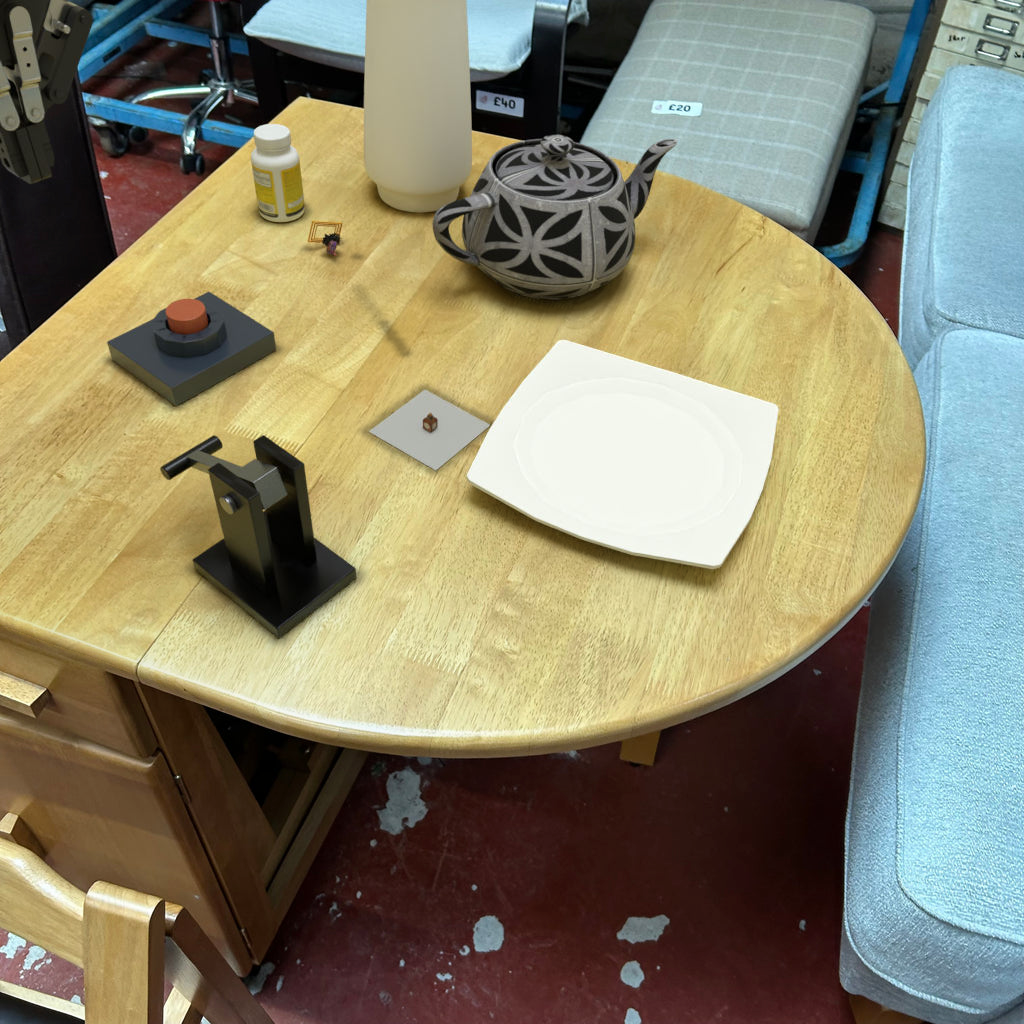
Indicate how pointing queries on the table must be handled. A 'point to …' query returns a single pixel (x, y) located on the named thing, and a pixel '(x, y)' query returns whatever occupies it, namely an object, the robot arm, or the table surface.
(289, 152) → the supplement bottle
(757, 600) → the table surface
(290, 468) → the lever bracket
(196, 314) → the button
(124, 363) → the button box
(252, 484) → the press lever
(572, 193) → the teapot
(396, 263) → the table surface
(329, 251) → the figurine with orange frame
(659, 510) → the plate
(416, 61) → the vase
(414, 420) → the grey square pad
